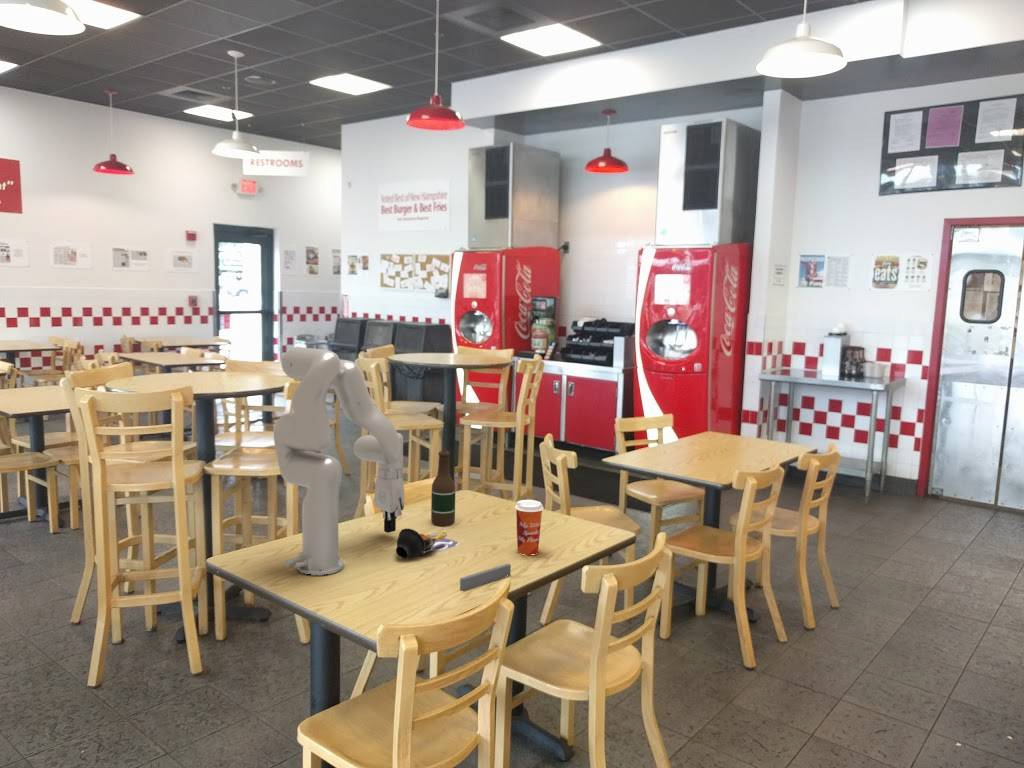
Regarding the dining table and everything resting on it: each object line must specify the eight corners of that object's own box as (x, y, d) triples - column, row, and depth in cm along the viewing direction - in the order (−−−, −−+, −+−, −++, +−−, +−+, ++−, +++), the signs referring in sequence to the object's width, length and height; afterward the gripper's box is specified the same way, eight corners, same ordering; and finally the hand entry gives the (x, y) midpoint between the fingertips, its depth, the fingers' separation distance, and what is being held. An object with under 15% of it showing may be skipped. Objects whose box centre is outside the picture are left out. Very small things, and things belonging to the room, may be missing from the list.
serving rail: (463, 590, 196) (463, 579, 195) (460, 589, 197) (460, 578, 196) (510, 575, 207) (510, 564, 207) (507, 573, 208) (507, 563, 207)
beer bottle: (453, 527, 246) (455, 454, 243) (429, 526, 246) (430, 453, 243) (455, 520, 254) (457, 449, 250) (432, 519, 254) (433, 448, 251)
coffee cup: (518, 558, 220) (519, 507, 218) (510, 548, 228) (512, 499, 226) (545, 556, 222) (547, 506, 220) (537, 546, 230) (539, 498, 228)
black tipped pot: (382, 542, 216) (416, 508, 231) (401, 574, 219) (433, 538, 233) (405, 537, 211) (438, 502, 226) (424, 569, 213) (456, 533, 228)
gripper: (366, 470, 234) (366, 527, 237) (394, 480, 224) (393, 540, 226) (386, 466, 240) (386, 522, 242) (414, 476, 229) (414, 535, 231)
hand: (389, 531), depth 234 cm, fingers closed
